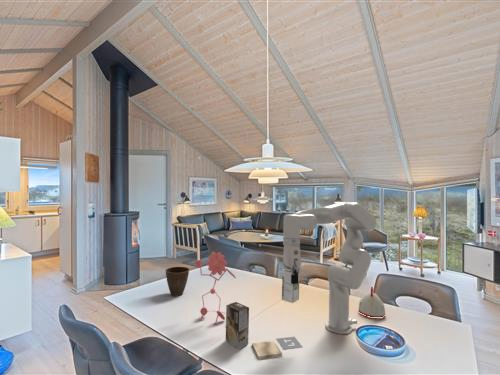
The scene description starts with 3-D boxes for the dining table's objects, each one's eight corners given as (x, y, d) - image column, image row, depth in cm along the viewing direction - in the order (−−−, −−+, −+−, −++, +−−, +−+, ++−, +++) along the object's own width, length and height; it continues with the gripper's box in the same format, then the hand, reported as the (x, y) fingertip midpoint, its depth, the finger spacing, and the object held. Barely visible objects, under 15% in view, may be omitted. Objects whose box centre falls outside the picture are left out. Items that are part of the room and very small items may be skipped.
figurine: (229, 329, 135) (231, 256, 137) (186, 318, 147) (189, 251, 148) (243, 317, 149) (245, 252, 151) (203, 308, 160) (206, 247, 162)
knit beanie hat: (357, 315, 155) (357, 288, 156) (359, 307, 168) (359, 282, 168) (385, 321, 149) (385, 293, 150) (385, 312, 162) (385, 286, 162)
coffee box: (249, 344, 122) (250, 307, 123) (238, 349, 118) (239, 311, 118) (235, 336, 129) (236, 301, 129) (224, 341, 124) (225, 304, 125)
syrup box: (288, 296, 129) (288, 265, 130) (299, 299, 125) (299, 267, 126) (281, 300, 125) (282, 267, 125) (292, 303, 121) (293, 270, 121)
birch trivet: (273, 343, 124) (273, 340, 124) (281, 356, 114) (282, 352, 114) (252, 345, 121) (252, 342, 121) (258, 359, 111) (258, 355, 111)
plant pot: (183, 299, 172) (183, 273, 173) (160, 297, 174) (161, 271, 175) (191, 291, 187) (192, 267, 187) (170, 289, 189) (171, 266, 190)
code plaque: (294, 336, 130) (294, 336, 130) (302, 347, 121) (302, 346, 121) (276, 338, 128) (276, 338, 128) (283, 349, 119) (283, 349, 119)
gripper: (307, 244, 118) (307, 286, 118) (291, 238, 135) (290, 274, 135) (291, 245, 116) (290, 287, 116) (277, 238, 133) (276, 275, 133)
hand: (290, 280), depth 125 cm, fingers closed on syrup box, 7 cm apart
